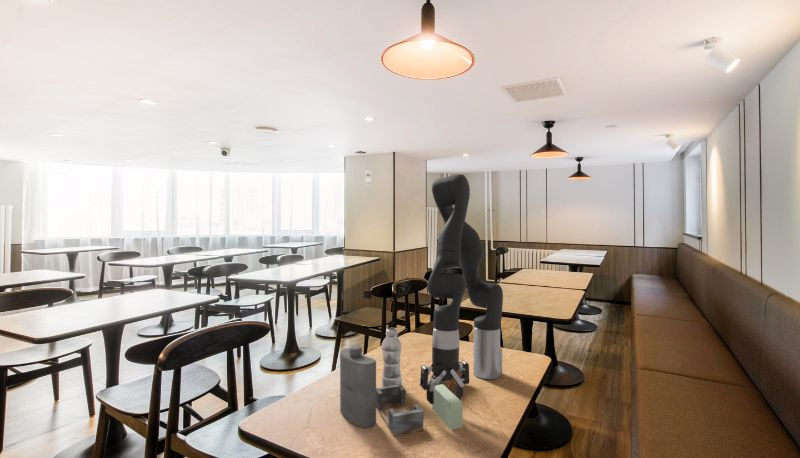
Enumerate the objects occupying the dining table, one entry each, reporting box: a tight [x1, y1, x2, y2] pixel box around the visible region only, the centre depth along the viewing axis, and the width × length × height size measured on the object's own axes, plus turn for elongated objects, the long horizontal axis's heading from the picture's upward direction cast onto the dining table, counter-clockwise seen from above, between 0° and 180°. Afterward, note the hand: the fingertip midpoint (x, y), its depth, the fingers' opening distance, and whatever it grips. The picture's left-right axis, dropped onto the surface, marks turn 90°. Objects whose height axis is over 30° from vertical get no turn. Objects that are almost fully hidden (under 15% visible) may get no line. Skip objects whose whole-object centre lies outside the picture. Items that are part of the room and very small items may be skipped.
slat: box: [431, 384, 464, 431], centre depth 109 cm, size 4×12×7 cm, turn 20°
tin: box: [435, 360, 462, 392], centre depth 127 cm, size 15×3×8 cm, turn 139°
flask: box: [339, 345, 377, 429], centre depth 109 cm, size 15×6×20 cm, turn 37°
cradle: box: [376, 384, 424, 437], centre depth 109 cm, size 8×17×5 cm, turn 20°
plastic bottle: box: [381, 327, 403, 387], centre depth 126 cm, size 6×7×20 cm
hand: (444, 400), depth 109 cm, fingers open, 8 cm apart
